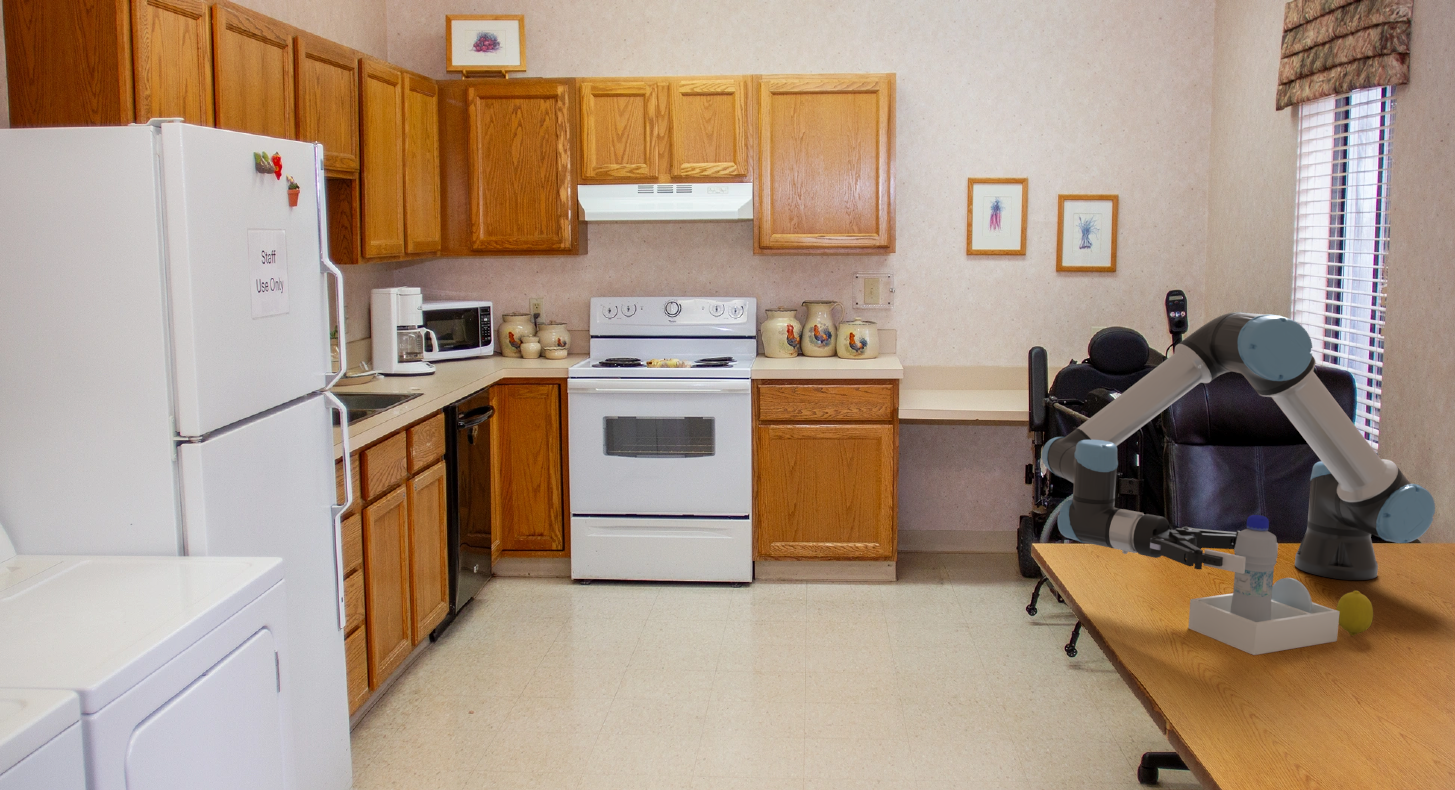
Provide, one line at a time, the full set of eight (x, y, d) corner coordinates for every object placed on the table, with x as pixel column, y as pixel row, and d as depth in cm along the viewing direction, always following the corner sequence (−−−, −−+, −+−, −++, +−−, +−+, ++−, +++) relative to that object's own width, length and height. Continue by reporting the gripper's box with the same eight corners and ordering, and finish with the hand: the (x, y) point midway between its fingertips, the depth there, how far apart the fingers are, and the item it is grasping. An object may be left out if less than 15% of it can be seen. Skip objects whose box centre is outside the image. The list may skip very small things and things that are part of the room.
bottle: (1220, 623, 194) (1229, 510, 191) (1257, 622, 195) (1266, 510, 192) (1241, 636, 188) (1250, 520, 185) (1279, 636, 188) (1289, 520, 185)
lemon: (1375, 642, 189) (1380, 596, 188) (1340, 639, 190) (1344, 594, 189) (1364, 631, 195) (1368, 587, 194) (1329, 629, 196) (1333, 584, 195)
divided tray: (1268, 615, 202) (1272, 566, 201) (1336, 640, 190) (1341, 588, 188) (1188, 627, 195) (1191, 576, 194) (1253, 655, 182) (1258, 600, 181)
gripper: (1171, 542, 213) (1287, 566, 198) (1106, 566, 196) (1227, 594, 181) (1173, 503, 212) (1291, 524, 197) (1108, 524, 195) (1231, 549, 180)
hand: (1261, 558), depth 189 cm, fingers open, 13 cm apart
